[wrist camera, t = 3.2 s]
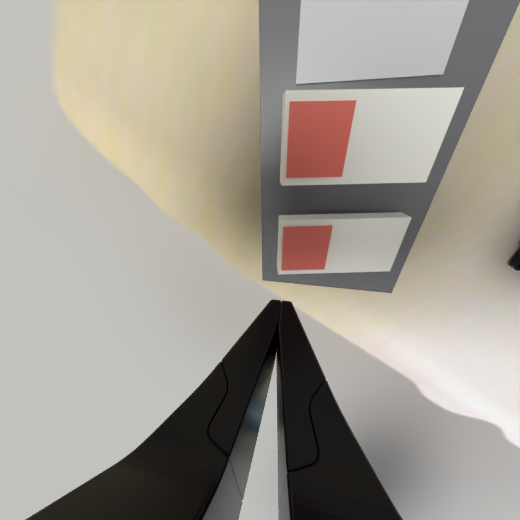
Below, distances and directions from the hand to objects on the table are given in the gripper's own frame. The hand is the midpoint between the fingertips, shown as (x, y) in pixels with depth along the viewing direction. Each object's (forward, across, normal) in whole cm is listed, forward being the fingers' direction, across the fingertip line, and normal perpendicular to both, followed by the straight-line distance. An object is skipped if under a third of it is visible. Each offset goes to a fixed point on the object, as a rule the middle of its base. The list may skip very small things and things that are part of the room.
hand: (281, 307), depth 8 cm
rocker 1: (+7, -3, -6) cm, 9 cm away
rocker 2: (+7, -3, 0) cm, 7 cm away
